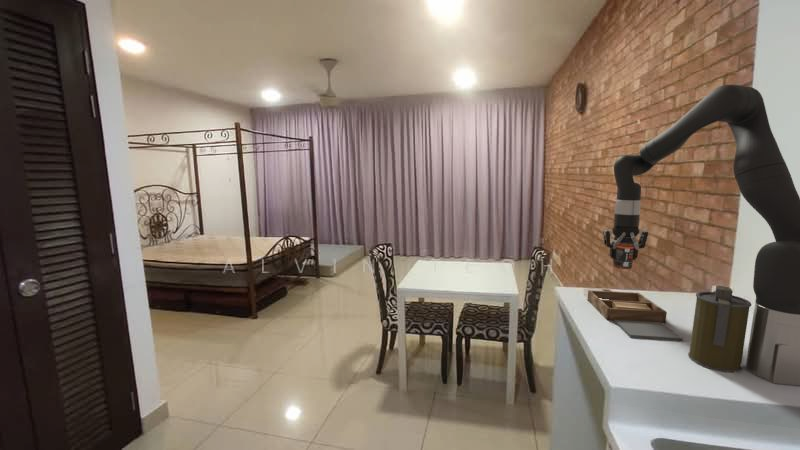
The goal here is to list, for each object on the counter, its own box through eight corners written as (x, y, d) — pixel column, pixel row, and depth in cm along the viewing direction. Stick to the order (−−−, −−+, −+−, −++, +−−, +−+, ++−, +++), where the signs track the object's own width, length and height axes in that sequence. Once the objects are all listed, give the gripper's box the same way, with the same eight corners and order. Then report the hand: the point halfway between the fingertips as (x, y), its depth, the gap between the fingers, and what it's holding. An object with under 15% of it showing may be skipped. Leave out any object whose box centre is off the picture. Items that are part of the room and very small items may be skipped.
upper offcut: (650, 316, 116) (651, 309, 115) (616, 313, 118) (616, 306, 118) (644, 310, 120) (645, 304, 120) (612, 307, 123) (612, 301, 123)
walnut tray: (665, 323, 114) (666, 312, 114) (607, 320, 117) (608, 308, 117) (637, 302, 132) (638, 292, 132) (587, 300, 135) (588, 290, 134)
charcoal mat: (682, 340, 103) (682, 338, 103) (630, 337, 105) (630, 334, 105) (661, 324, 113) (661, 322, 113) (614, 321, 116) (614, 319, 116)
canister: (688, 347, 99) (696, 279, 96) (739, 360, 92) (750, 287, 89) (688, 364, 90) (697, 290, 87) (743, 378, 84) (756, 299, 81)
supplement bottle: (631, 270, 122) (634, 238, 120) (611, 267, 125) (614, 236, 124) (632, 266, 127) (635, 236, 125) (613, 264, 130) (616, 234, 129)
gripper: (609, 213, 121) (605, 261, 123) (655, 214, 118) (650, 262, 121) (600, 211, 128) (597, 256, 130) (644, 211, 126) (639, 257, 128)
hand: (623, 259), depth 126 cm, fingers closed on supplement bottle, 6 cm apart
